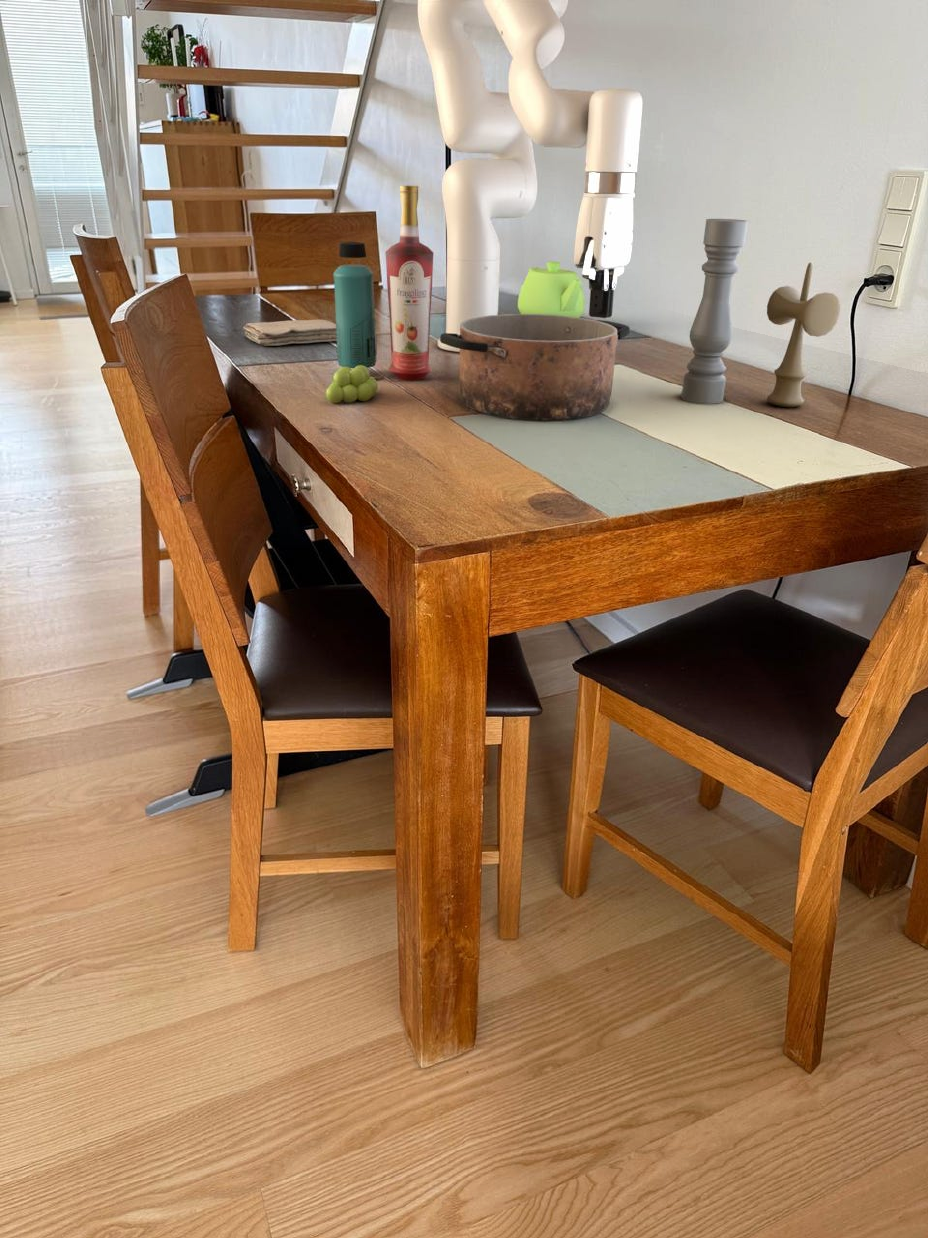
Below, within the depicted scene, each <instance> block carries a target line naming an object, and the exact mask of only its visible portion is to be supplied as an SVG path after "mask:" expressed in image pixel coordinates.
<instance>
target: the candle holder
mask: <svg viewBox="0 0 928 1238" xmlns="http://www.w3.org/2000/svg"><path fill="white" fill-rule="evenodd" d="M748 224H749V221H748V220H746V219H735V218H734V219H733V218H732V219H731V218H706V219H705V228H704V235H703V242H702V243H703V245H704V248H703V249H704V252H705V254H706V255H705V256H706V258H707V261H706V262H704V263H703V264H702V265H701V271H703V273H704V282H703V283H704V284H703V291H702V297H701V300H700V302H699V306H698V309H697V311H696V314H695V317H694V319H693V322H692V324H691V327H690V331H689V341H690V344H691V346H692V348H693V351H692V353H693V355H694V357H692V358H691V359H690V362H688V363H687V365H686V369H687V371H688V372H686V373H685V374H683V381H682V389H681V396H680V397H681V399H682V400H683V401H686V402H688V403H693V404H702V405H713V404H715V405H716V404H720V403H722V402H723V401H724V396H725V395H724V394H725V388H726V381H727V378H726V376H725V375H723V374H724V373H726V370H727V366H726V365H725V364H724V361H723V359H722V357H723V356H724V355H725V354H724V352H725V350H727V348H728V347H729V346H730V345H731V342H732V341H733V340H732V339H733V325H732V324H733V323H732V311H731V294H732V293H731V292H732V286H733V279H734V277H735V275H736V274H737V273H738V272H739V271H740V266H739V265H738V264H737V263H736V260H737V259H738V257H739V255H740V254H741V253H742V250H743V247H744V246H745V244H746V238H747V237H746V236H747V231H748Z"/></svg>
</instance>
